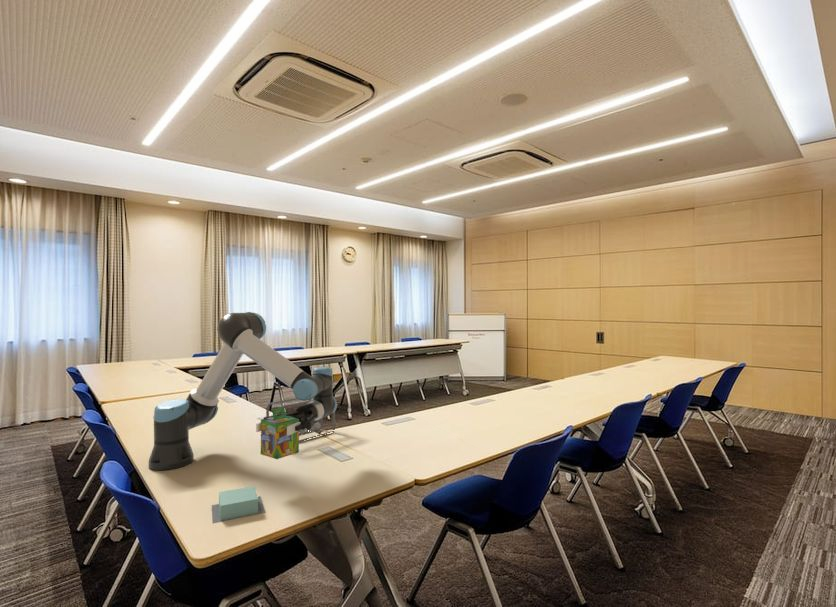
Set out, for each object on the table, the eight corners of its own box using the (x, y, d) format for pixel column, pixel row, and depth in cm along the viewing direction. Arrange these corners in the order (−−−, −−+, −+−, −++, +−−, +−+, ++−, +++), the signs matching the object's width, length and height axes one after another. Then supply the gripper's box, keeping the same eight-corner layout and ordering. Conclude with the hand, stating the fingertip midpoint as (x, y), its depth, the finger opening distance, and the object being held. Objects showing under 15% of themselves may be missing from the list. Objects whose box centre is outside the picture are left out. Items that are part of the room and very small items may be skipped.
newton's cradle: (278, 448, 185) (278, 407, 185) (265, 443, 191) (265, 403, 191) (335, 433, 207) (335, 395, 207) (322, 428, 214) (322, 392, 214)
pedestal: (220, 520, 122) (220, 505, 122) (219, 505, 131) (219, 492, 131) (258, 512, 127) (258, 498, 127) (254, 498, 136) (254, 485, 136)
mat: (212, 525, 121) (212, 523, 121) (211, 507, 131) (211, 505, 131) (265, 514, 127) (265, 512, 127) (260, 498, 138) (260, 496, 138)
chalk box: (276, 460, 138) (276, 413, 138) (259, 454, 143) (259, 409, 143) (300, 452, 145) (300, 408, 145) (283, 447, 151) (283, 404, 151)
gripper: (337, 426, 158) (303, 444, 137) (282, 420, 165) (242, 437, 144) (337, 405, 158) (303, 421, 137) (282, 400, 165) (242, 415, 144)
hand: (272, 429), depth 140 cm, fingers closed on chalk box, 11 cm apart
